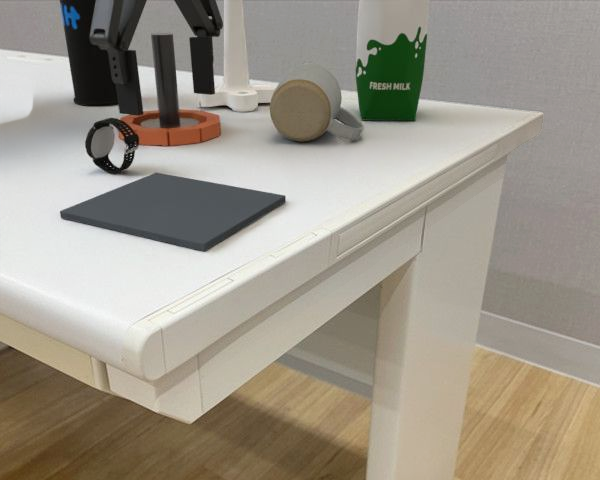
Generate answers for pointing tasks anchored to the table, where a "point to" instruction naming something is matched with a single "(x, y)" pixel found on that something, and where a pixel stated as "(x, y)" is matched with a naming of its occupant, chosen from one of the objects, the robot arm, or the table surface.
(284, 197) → the mat
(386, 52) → the milk carton
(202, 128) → the ring
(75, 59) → the aerosol can
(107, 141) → the smartwatch
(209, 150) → the table surface
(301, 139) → the ceramic mug
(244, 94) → the white footed stand
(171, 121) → the post
